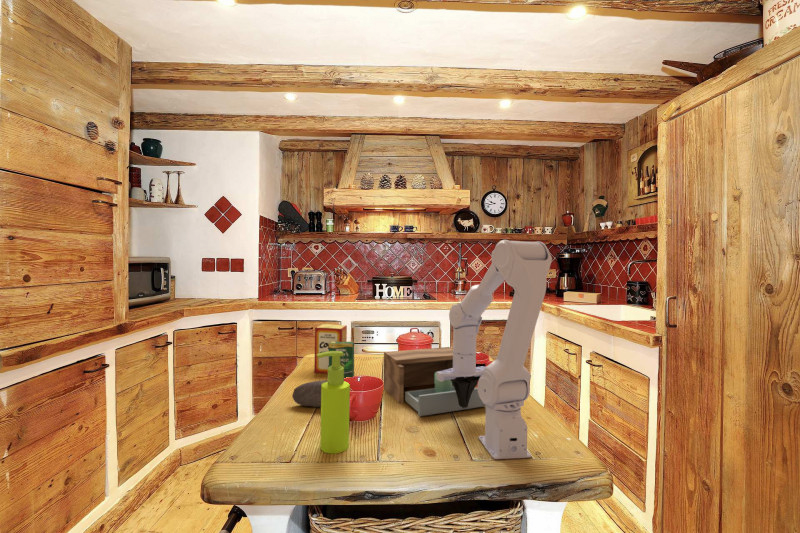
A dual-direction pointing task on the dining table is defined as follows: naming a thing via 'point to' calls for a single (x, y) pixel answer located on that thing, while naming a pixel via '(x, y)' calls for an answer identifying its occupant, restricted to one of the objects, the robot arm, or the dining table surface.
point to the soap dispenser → (334, 407)
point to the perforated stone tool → (309, 394)
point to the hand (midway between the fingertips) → (463, 406)
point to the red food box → (327, 343)
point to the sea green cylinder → (442, 385)
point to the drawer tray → (439, 401)
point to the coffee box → (348, 357)
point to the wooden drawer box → (414, 368)
